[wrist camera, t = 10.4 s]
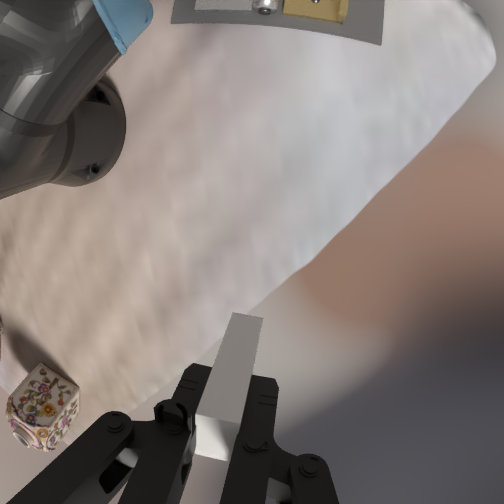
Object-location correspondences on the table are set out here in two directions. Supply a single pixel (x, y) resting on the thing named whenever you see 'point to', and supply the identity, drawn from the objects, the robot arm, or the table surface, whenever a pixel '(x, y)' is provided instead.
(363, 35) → the grey two-tone fixture
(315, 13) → the loose leaf
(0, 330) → the bowl
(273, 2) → the fixed leaf
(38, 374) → the decorative jar
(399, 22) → the table surface
